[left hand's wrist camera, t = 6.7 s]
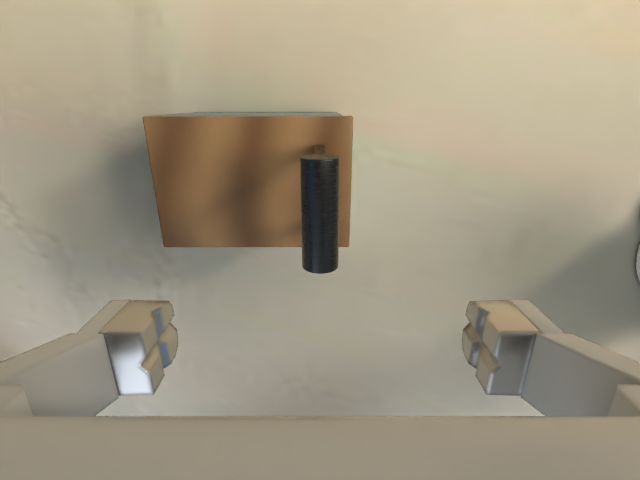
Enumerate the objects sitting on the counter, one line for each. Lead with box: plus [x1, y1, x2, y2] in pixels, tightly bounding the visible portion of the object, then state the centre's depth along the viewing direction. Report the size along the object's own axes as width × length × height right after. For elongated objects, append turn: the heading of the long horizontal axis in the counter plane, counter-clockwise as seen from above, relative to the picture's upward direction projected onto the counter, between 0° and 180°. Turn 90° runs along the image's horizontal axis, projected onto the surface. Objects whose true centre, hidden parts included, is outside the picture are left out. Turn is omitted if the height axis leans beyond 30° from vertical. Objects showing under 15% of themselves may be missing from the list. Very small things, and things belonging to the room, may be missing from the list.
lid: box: [143, 116, 353, 273], centre depth 23 cm, size 14×10×9 cm
